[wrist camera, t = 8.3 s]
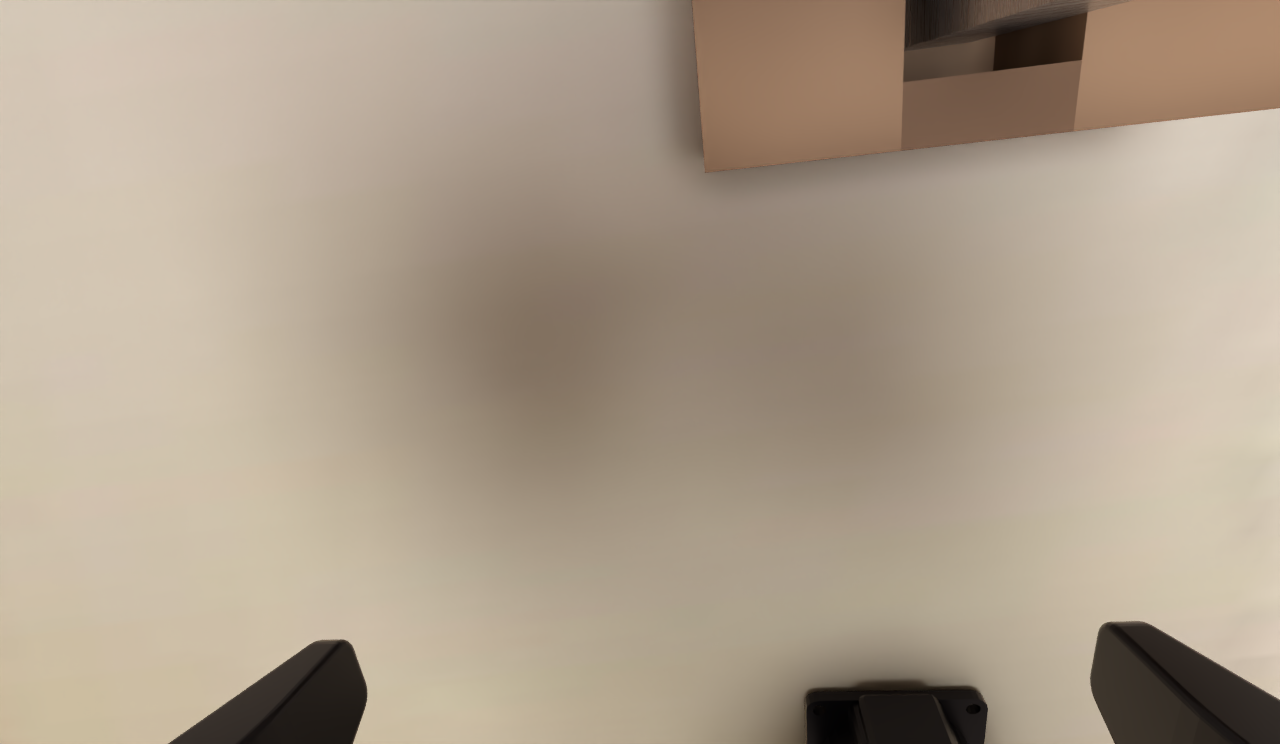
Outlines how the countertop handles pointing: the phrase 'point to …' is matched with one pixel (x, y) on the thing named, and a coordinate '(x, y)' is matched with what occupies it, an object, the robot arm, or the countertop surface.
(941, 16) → the gray concrete slab
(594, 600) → the countertop surface
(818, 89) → the post block
